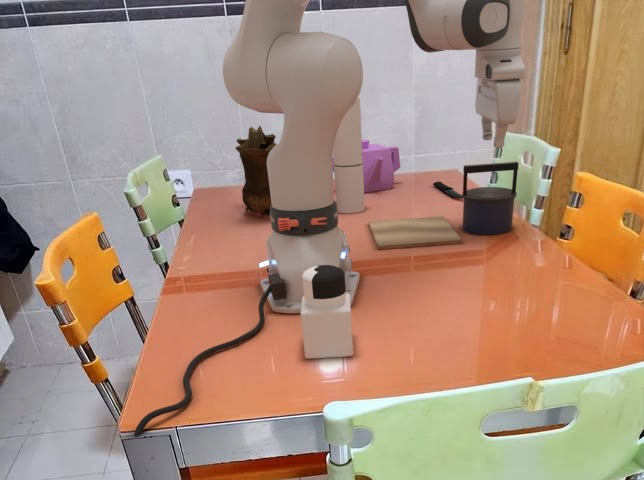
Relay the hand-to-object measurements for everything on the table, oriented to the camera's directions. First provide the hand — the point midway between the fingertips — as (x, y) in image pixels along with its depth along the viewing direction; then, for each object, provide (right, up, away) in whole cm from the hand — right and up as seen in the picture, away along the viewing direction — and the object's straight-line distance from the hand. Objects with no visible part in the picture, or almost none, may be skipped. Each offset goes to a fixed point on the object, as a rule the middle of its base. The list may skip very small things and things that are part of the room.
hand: (492, 143), depth 137 cm
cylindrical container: (-30, -2, +30) cm, 43 cm away
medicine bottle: (-33, -51, -39) cm, 72 cm away
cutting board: (-16, -16, +9) cm, 24 cm away
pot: (+1, -14, +10) cm, 17 cm away
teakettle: (-27, +13, +50) cm, 58 cm away
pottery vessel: (-53, -1, +32) cm, 62 cm away
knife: (-4, +6, +39) cm, 40 cm away
